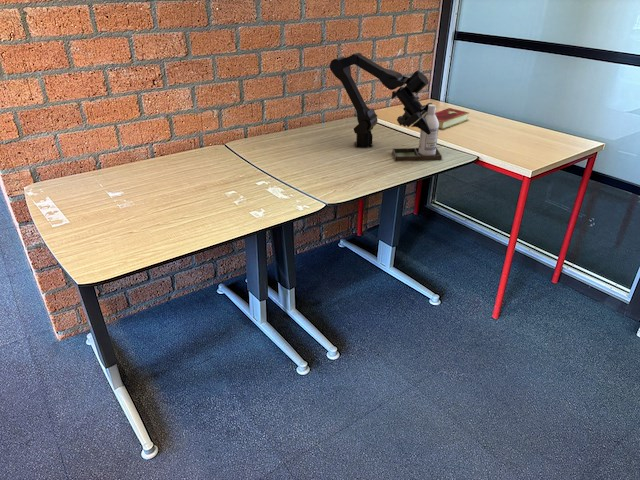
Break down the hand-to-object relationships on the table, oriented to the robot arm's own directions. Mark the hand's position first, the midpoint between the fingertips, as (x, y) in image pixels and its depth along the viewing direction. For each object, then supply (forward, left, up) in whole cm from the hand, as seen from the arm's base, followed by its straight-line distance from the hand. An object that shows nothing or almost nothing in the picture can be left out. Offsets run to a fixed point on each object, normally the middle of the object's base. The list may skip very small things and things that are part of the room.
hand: (432, 131), depth 195 cm
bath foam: (-1, +1, -10) cm, 10 cm away
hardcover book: (+17, +45, -11) cm, 49 cm away
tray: (-6, +1, -11) cm, 12 cm away
